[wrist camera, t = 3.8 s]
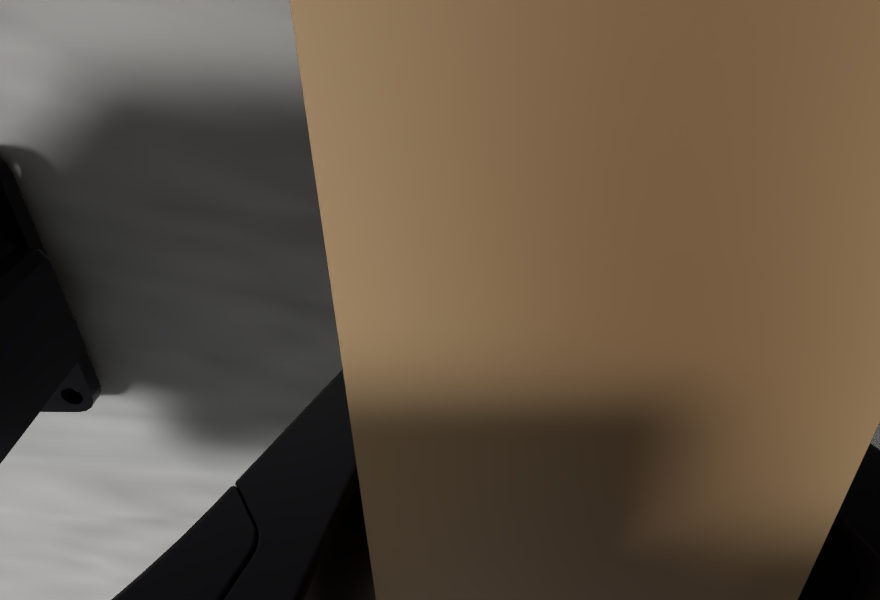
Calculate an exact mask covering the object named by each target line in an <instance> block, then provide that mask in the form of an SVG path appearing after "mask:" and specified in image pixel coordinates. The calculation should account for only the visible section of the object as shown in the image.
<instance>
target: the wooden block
mask: <svg viewBox="0 0 880 600" xmlns="http://www.w3.org/2000/svg"><path fill="white" fill-rule="evenodd" d="M290 7H291V14H292V20H293V27H294V34H295V41H296V48H297V55H298V62H299V69H300V76H301V83H302V90H303V97H304V104H305V111H306V118H307V125H308V131H309V138H310V145H311V152H312V159H313V166H314V173H315V180H316V187H317V194H318V201H319V208H320V215H321V222H322V229H323V236H324V242H325V249H326V256H327V263H328V270H329V277H330V284H331V291H332V298H333V305H334V312H335V319H336V326H337V333H338V340H339V346H340V353H341V360H342V367H343V374H344V381H345V388H346V395H347V402H348V409H349V416H350V423H351V430H352V437H353V444H354V451H355V457H356V464H357V471H358V478H359V485H360V492H361V499H362V506H363V513H364V520H365V527H366V534H367V541H368V548H369V555H370V562H371V568H372V575H373V582H374V589H375V596H376V600H798V598H799V596H800V594H801V592H802V589H803V587H804V585H805V583H806V581H807V579H808V576H809V574H810V572H811V570H812V568H813V566H814V563H815V561H816V559H817V557H818V555H819V553H820V550H821V548H822V546H823V544H824V542H825V540H826V537H827V535H828V533H829V531H830V529H831V527H832V524H833V522H834V520H835V518H836V516H837V514H838V511H839V509H840V507H841V505H842V503H843V501H844V498H845V496H846V494H847V492H848V490H849V488H850V485H851V483H852V481H853V479H854V477H855V475H856V472H857V470H858V468H859V466H860V464H861V462H862V459H863V457H864V455H865V453H866V451H867V449H868V446H869V444H870V442H871V440H872V438H873V436H874V433H875V431H876V429H877V427H878V425H879V423H880V0H290Z"/></svg>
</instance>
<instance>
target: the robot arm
mask: <svg viewBox="0 0 880 600" xmlns="http://www.w3.org/2000/svg"><path fill="white" fill-rule="evenodd" d="M73 389H75V390H76V391H75V390H73ZM77 391H78V392H77ZM100 393H101V387H100V384H99V381H98V379H97V376H96V374H95V371H94V369H93V367H92V364H91V362H90V359H89V357H88V354H87V352H86V348H85V345H84V343H83V340H82V338H81V335H80V333H79V330H78V328H77V326H76V323H75V321H74V318H73V316H72V313H71V311H70V308H69V306H68V304H67V301H66V299H65V296H64V294H63V291H62V289H61V287H60V284H59V282H58V279H57V277H56V274H55V272H54V270H53V267H52V265H51V262H50V260H49V259H48V257H47V255H46V252H45V250H44V248H43V245H42V243H41V240H40V238H39V236H38V233H37V231H36V228H35V226H34V223H33V221H32V219H31V216H30V214H29V211H28V209H27V206H26V204H25V202H24V199H23V197H22V194H21V192H20V189H19V187H18V185H17V182H16V180H15V177H14V175H13V173H12V171H11V169H10V168H9V166H8V164H7V163H6V162H5V161H4V160H2V159H1V158H0V463H1V462H2V461H3V459H4V458H5V457H6V456H7V454H8V453H9V452H10V450H11V449H12V448H13V446H14V445H15V444H16V442H17V441H18V440H19V438H20V437H21V436H22V435H23V433H24V432H25V431H26V429H27V428H28V427H29V425H30V424H31V423H32V421H33V420H34V419H35V417H36V416H37V415H38V414H39V412H81V411H87V410H88V409H90V408H91V407H92V406H93V404H94V403H95V401H96V400H97V398H98V397H99V395H100ZM235 485H236V487H235V486H232V487H230V488H229V489H228V490H227V491H226V492H225V493H224V494H223V496H222V497H221V498H220V499H219V500H218V501H217V502H216V503H215V504H214V505H213V506H212V507H211V508H210V509H209V510H208V511H207V512H206V513H205V514H204V515H203V516H202V517H201V518H200V519H199V520H198V521H197V522H196V523H195V524H194V525H193V526H192V527H191V528H190V529H189V530H188V531H187V532H186V533H185V534H184V535H183V536H182V537H181V538H180V539H179V540H178V541H177V542H176V543H175V544H174V545H172V546H171V547H170V548H169V549H168V550H167V551H166V552H165V553H164V554H163V555H161V556H160V557H159V558H158V559H157V560H156V561H155V562H154V563H153V564H152V565H150V566H149V567H148V568H147V569H146V570H145V571H144V572H143V573H142V574H140V575H139V576H138V577H137V578H136V579H135V580H134V581H132V582H131V583H130V584H129V585H128V586H127V587H126V588H124V589H123V590H122V591H121V592H120V593H119V594H117V595H116V596H115V597H114V598H113V599H112V600H376V596H375V589H374V582H373V575H372V568H371V562H370V555H369V548H368V541H367V534H366V527H365V520H364V513H363V506H362V499H361V492H360V485H359V478H358V471H357V464H356V457H355V451H354V444H353V437H352V430H351V423H350V416H349V409H348V402H347V395H346V388H345V381H344V374H343V369H342V370H341V371H340V372H339V373H338V375H337V376H336V377H335V378H334V379H333V380H332V381H331V382H330V383H329V384H328V385H327V386H326V387H325V388H324V389H323V390H322V391H321V392H320V394H319V395H318V396H317V397H316V398H315V399H314V400H313V401H312V402H311V403H310V404H309V405H308V406H307V407H306V408H305V409H304V410H303V411H302V413H301V414H300V415H299V416H298V417H297V418H296V419H295V420H294V421H293V422H292V423H291V424H290V425H289V426H288V427H287V428H286V429H285V430H284V432H283V433H282V434H281V435H280V436H279V437H278V438H277V439H276V440H275V441H274V442H273V443H272V444H271V445H270V446H269V447H268V448H267V449H266V451H265V452H264V453H263V454H262V455H261V456H260V457H259V458H258V459H257V460H256V461H255V462H254V463H253V464H252V465H251V466H250V467H249V468H248V470H247V471H246V472H245V473H244V474H243V475H242V476H241V477H240V478H239V479H238V480H237V481H236V483H235ZM798 600H880V450H879V449H878V448H877V447H875V446H874V445H872V444H871V443H870V444H869V446H868V449H867V451H866V453H865V455H864V457H863V459H862V462H861V464H860V466H859V468H858V470H857V472H856V475H855V477H854V479H853V481H852V483H851V485H850V488H849V490H848V492H847V494H846V496H845V498H844V501H843V503H842V505H841V507H840V509H839V511H838V514H837V516H836V518H835V520H834V522H833V524H832V527H831V529H830V531H829V533H828V535H827V537H826V540H825V542H824V544H823V546H822V548H821V550H820V553H819V555H818V557H817V559H816V561H815V563H814V566H813V568H812V570H811V572H810V574H809V576H808V579H807V581H806V583H805V585H804V587H803V589H802V592H801V594H800V596H799V598H798Z"/></svg>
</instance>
